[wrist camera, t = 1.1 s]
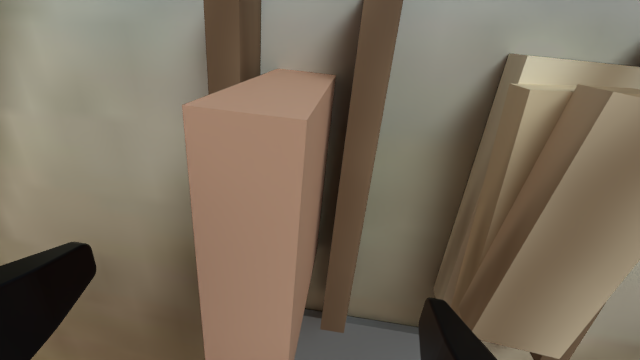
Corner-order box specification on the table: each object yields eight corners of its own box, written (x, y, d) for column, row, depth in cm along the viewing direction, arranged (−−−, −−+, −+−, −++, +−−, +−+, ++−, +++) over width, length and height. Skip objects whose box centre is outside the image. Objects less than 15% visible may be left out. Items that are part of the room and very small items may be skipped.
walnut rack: (698, 25, 11) (785, 23, 9) (536, 326, 17) (562, 369, 15) (231, -18, 12) (201, -31, 10) (237, 279, 19) (220, 312, 16)
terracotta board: (336, 75, 13) (306, 120, 6) (317, 248, 17) (285, 403, 10) (278, 68, 13) (182, 105, 6) (271, 241, 17) (207, 388, 10)
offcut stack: (634, 66, 12) (778, 82, 8) (519, 302, 17) (570, 386, 13) (501, 52, 12) (572, 60, 8) (428, 288, 17) (448, 366, 13)
